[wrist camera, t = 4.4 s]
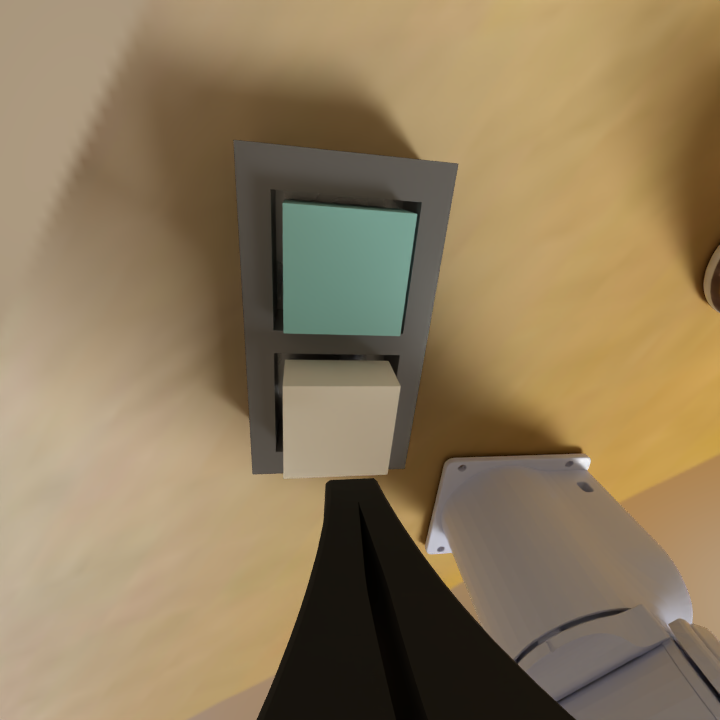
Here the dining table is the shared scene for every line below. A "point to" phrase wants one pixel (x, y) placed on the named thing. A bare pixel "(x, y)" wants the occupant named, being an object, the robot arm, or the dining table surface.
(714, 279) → the supplement bottle
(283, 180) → the bezel
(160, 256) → the dining table surface
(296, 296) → the key teal
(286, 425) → the key cream
